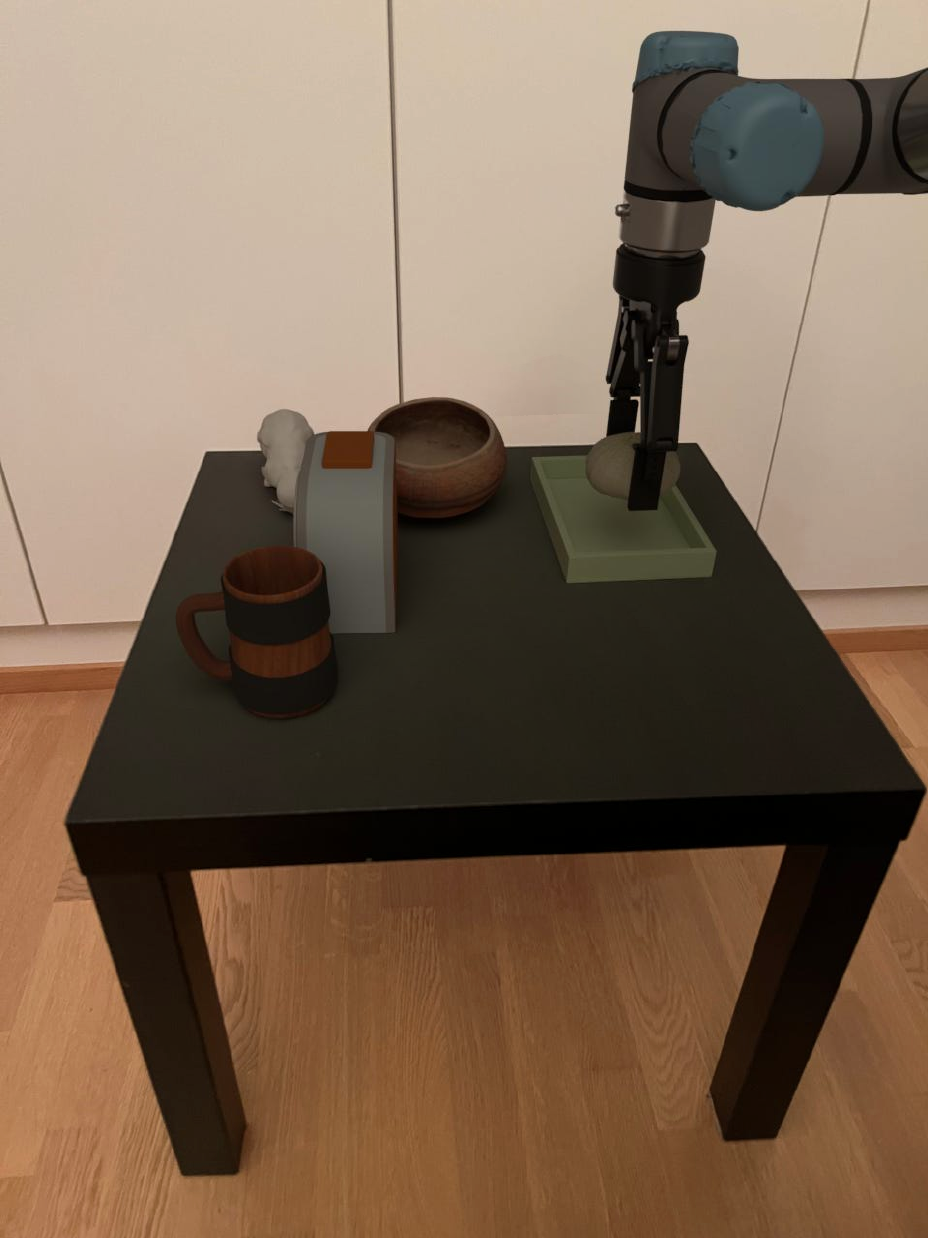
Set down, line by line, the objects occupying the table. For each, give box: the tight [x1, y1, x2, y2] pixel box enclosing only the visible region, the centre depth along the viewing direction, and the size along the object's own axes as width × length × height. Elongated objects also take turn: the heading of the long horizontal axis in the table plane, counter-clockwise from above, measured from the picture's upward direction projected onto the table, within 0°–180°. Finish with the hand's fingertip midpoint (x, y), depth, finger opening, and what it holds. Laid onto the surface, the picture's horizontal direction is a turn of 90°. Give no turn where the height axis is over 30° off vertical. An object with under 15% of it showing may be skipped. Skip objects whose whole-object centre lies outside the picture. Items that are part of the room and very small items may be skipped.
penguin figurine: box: [256, 408, 315, 515], centre depth 103 cm, size 6×8×12 cm
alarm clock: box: [292, 430, 399, 634], centre depth 87 cm, size 15×8×14 cm, turn 2°
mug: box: [175, 545, 339, 720], centre depth 75 cm, size 9×12×12 cm
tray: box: [529, 454, 717, 584], centre depth 101 cm, size 22×15×3 cm
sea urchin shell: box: [585, 431, 682, 501], centre depth 92 cm, size 9×8×8 cm
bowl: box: [367, 396, 508, 519], centre depth 102 cm, size 16×16×10 cm
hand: (629, 483), depth 93 cm, fingers closed on sea urchin shell, 9 cm apart
